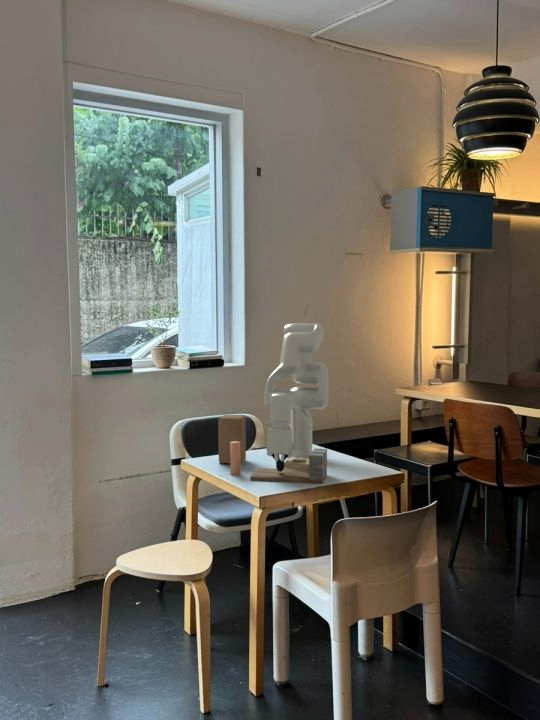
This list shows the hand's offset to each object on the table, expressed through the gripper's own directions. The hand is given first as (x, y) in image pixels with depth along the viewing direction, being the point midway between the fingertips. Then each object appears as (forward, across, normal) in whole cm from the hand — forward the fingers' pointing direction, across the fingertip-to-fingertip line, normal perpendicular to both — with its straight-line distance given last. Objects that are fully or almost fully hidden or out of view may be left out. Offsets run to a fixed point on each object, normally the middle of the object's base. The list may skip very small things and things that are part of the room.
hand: (280, 470), depth 272 cm
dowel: (+3, -18, 0) cm, 19 cm away
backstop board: (+3, +4, 0) cm, 4 cm away
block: (+3, -26, +21) cm, 34 cm away
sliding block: (+1, +8, 0) cm, 8 cm away
